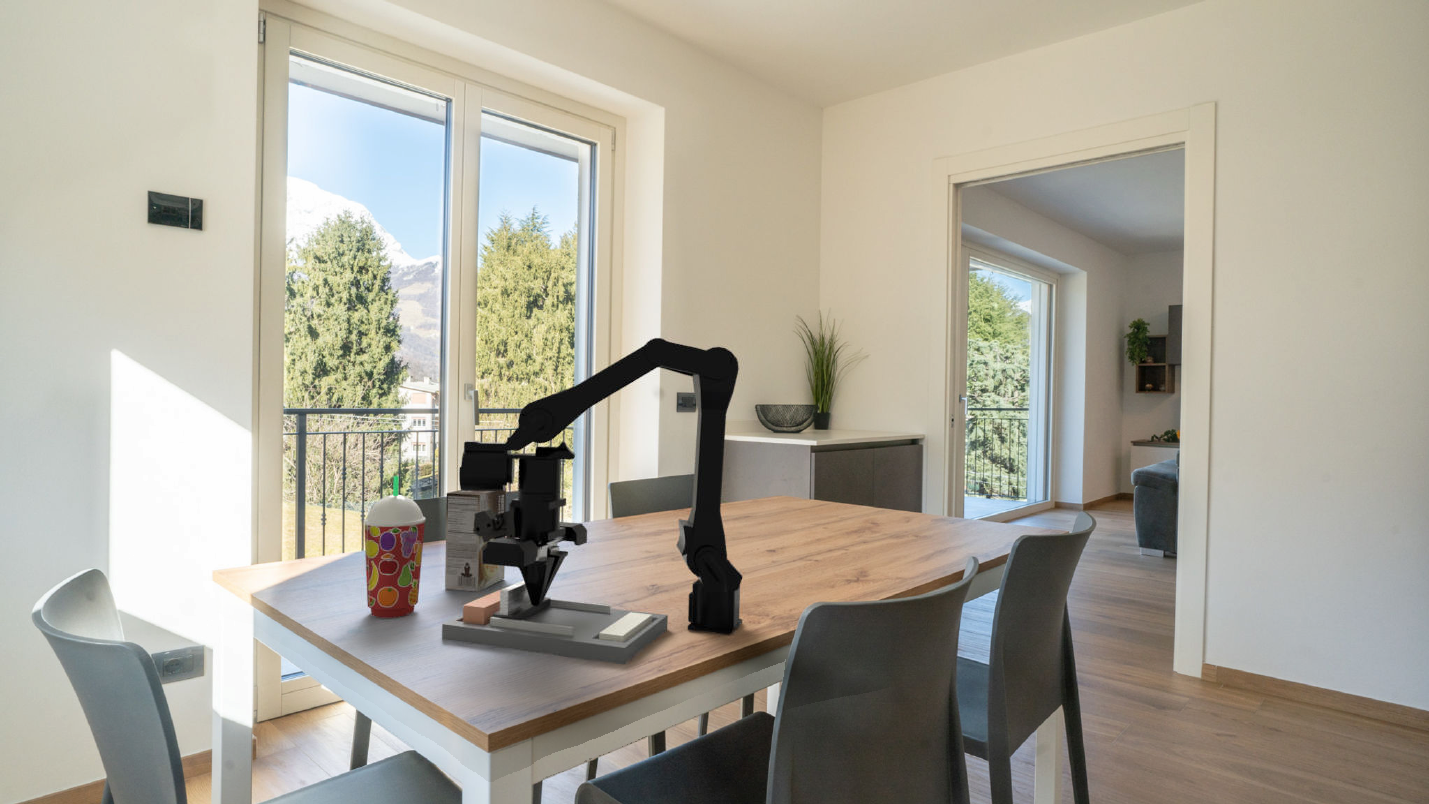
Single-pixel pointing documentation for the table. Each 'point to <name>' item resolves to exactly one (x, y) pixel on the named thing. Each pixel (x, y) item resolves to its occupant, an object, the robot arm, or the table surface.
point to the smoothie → (393, 555)
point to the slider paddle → (517, 603)
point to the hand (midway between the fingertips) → (536, 605)
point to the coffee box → (469, 540)
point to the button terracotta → (482, 609)
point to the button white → (626, 627)
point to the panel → (560, 632)
